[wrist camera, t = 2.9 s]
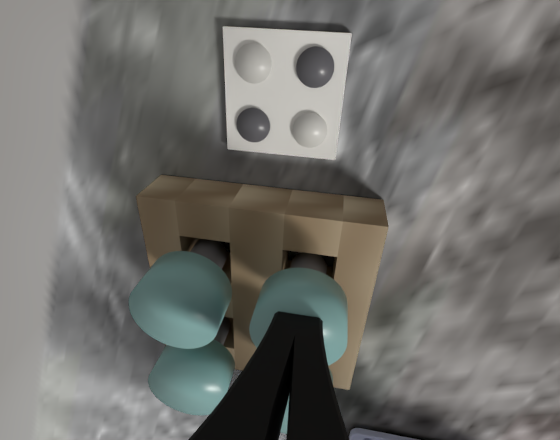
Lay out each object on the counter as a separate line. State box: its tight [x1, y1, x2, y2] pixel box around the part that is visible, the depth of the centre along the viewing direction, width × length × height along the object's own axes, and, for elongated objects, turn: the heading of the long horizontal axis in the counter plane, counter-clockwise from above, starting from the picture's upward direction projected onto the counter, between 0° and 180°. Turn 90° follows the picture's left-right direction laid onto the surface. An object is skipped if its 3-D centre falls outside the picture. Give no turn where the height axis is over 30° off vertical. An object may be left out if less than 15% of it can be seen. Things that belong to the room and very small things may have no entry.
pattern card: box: [223, 26, 352, 160], centre depth 12 cm, size 4×4×1 cm
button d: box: [129, 239, 232, 349], centre depth 12 cm, size 3×3×4 cm
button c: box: [249, 252, 348, 366], centre depth 12 cm, size 3×3×4 cm
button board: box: [136, 175, 388, 390], centre depth 15 cm, size 9×9×2 cm
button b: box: [148, 317, 235, 415], centre depth 15 cm, size 3×3×4 cm
